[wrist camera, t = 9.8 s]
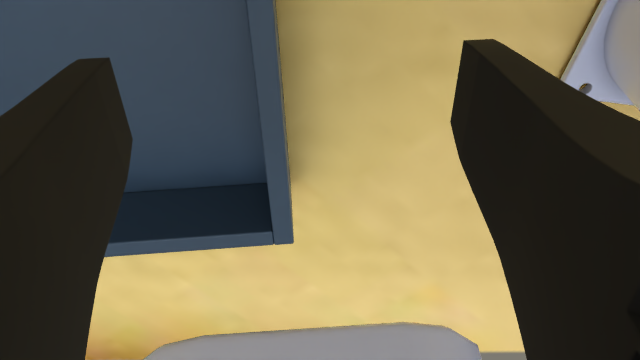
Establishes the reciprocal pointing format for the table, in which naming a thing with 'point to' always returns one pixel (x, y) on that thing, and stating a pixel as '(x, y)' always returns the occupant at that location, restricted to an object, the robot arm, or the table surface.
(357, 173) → the table surface
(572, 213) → the robot arm
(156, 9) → the tub
